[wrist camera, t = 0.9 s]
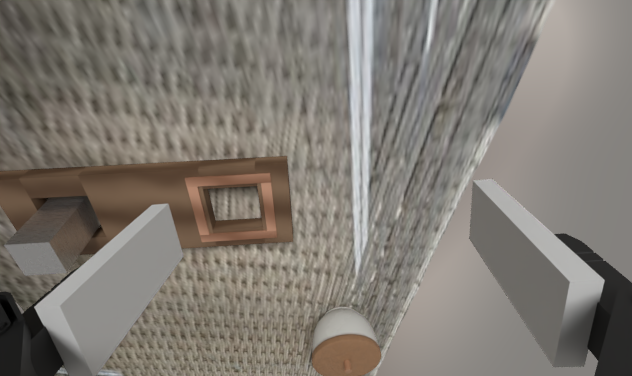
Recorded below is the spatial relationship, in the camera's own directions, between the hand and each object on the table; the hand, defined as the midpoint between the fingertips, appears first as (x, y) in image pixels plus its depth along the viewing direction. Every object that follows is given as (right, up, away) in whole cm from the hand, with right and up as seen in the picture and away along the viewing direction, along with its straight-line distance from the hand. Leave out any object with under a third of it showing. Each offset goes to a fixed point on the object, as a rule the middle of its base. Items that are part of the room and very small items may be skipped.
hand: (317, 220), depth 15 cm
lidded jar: (+4, -21, +46) cm, 50 cm away
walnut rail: (-20, -1, +30) cm, 36 cm away
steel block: (-30, -1, +30) cm, 43 cm away
